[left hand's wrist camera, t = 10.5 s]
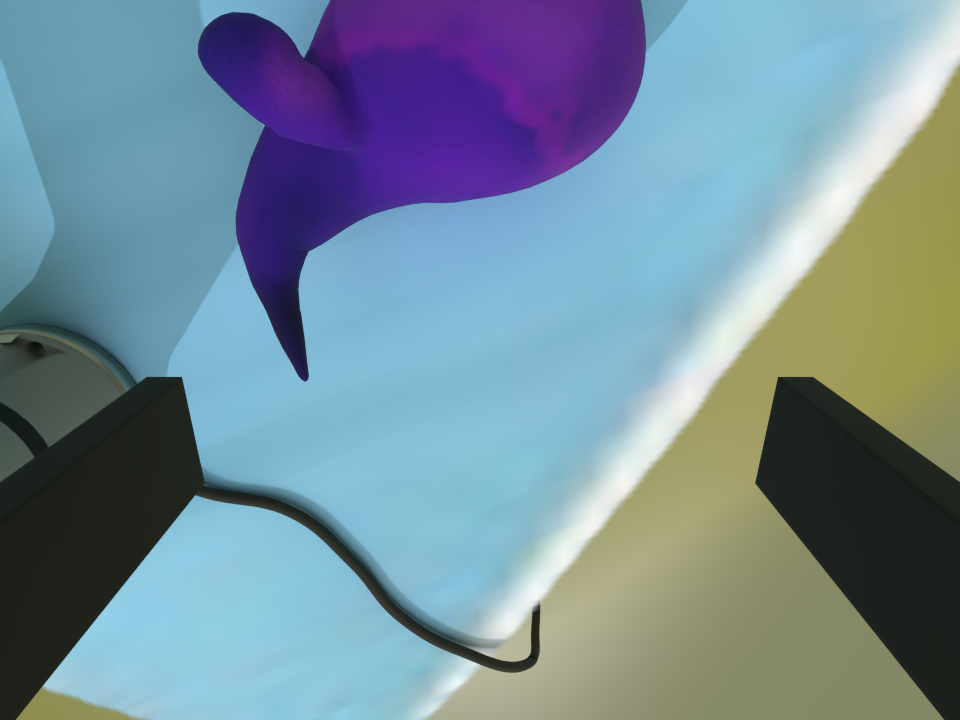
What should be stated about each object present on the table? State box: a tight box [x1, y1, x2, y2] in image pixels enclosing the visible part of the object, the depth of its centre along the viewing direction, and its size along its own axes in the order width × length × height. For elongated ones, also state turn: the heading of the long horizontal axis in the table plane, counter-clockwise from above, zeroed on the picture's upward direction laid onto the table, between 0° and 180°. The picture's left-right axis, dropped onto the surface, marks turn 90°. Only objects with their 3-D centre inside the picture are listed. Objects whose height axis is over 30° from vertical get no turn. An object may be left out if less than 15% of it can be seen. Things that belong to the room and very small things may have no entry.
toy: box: [198, 0, 646, 381], centre depth 32 cm, size 16×18×27 cm
